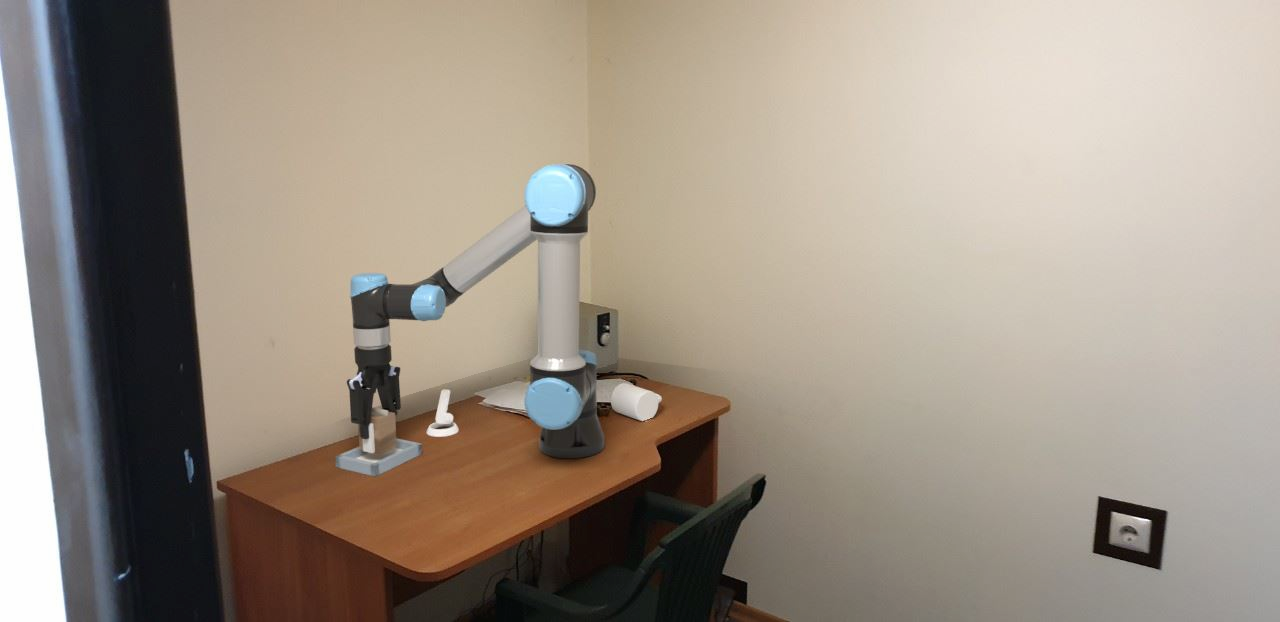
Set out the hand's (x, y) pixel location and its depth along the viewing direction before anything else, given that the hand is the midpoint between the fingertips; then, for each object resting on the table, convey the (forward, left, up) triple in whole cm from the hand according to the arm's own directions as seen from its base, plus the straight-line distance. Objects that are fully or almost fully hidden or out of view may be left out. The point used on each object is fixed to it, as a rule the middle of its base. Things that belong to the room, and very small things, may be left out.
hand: (378, 447), depth 170 cm
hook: (0, -21, -3) cm, 21 cm away
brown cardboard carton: (0, 0, 0) cm, 0 cm away
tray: (0, 0, -3) cm, 3 cm away
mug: (-38, -54, -3) cm, 66 cm away
